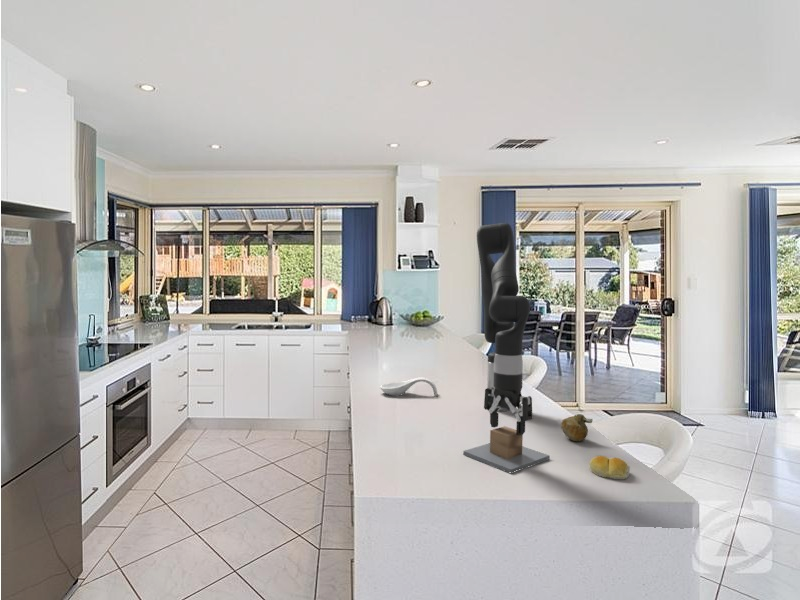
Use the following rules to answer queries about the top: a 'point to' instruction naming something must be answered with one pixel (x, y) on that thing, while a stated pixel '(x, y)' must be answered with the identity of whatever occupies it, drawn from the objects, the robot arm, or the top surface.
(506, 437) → the walnut block
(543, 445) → the top surface
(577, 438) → the onion
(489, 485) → the top surface
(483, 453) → the slate plate
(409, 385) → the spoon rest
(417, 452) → the top surface
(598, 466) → the bread roll
